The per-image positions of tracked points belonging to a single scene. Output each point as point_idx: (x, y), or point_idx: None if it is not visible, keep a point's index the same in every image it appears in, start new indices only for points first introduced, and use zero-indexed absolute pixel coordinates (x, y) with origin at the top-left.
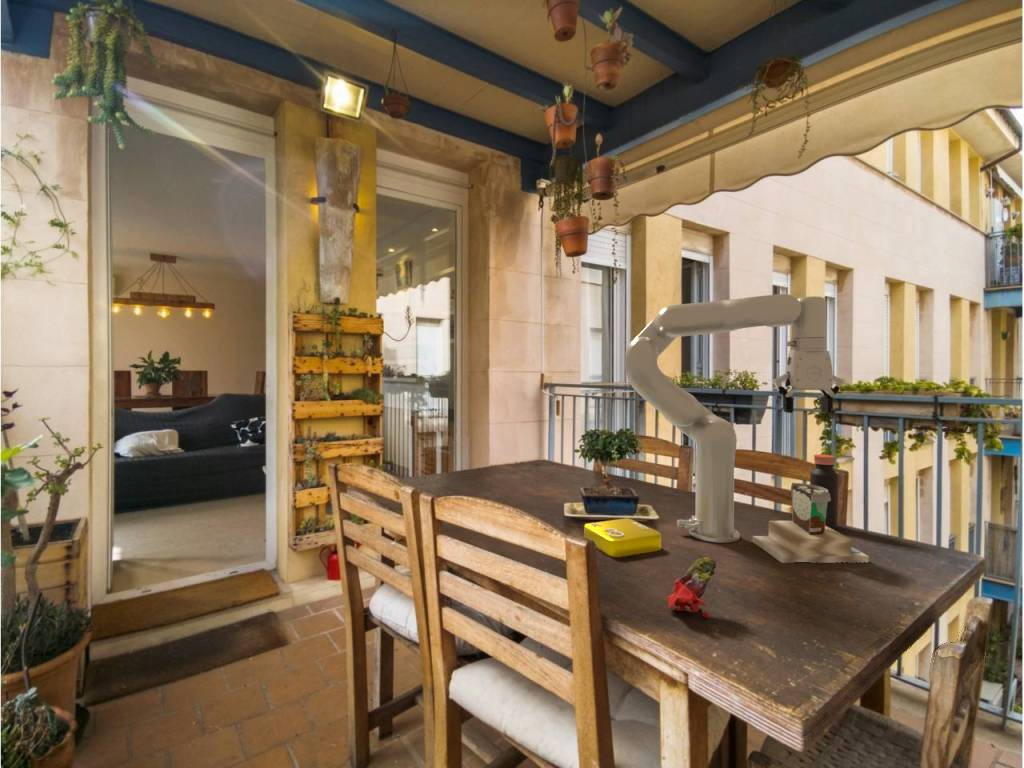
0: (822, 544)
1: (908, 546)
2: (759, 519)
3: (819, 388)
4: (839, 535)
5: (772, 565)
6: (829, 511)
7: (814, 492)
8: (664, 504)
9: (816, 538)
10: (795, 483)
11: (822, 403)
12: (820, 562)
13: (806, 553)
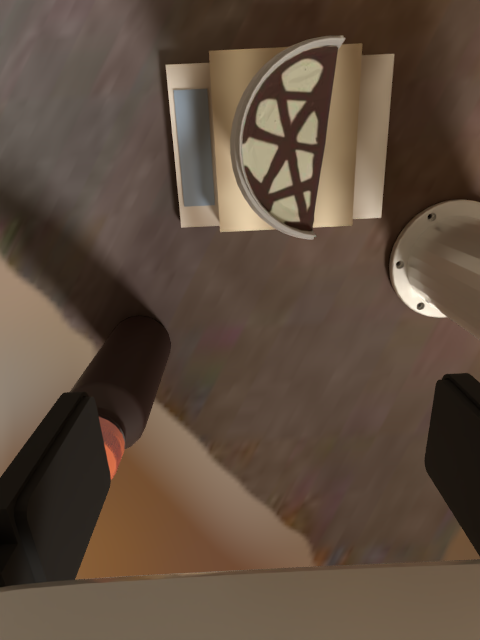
0: None
1: (6, 200)
2: (271, 385)
3: (174, 583)
4: (226, 86)
5: (421, 36)
6: (130, 333)
7: (286, 128)
8: None
9: None
10: (303, 232)
11: (82, 530)
12: None
13: None
